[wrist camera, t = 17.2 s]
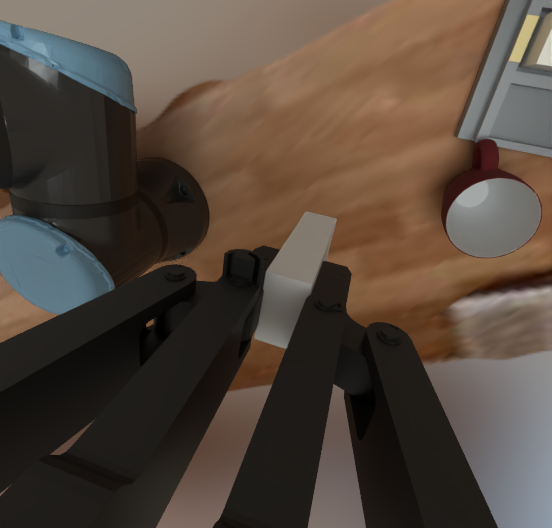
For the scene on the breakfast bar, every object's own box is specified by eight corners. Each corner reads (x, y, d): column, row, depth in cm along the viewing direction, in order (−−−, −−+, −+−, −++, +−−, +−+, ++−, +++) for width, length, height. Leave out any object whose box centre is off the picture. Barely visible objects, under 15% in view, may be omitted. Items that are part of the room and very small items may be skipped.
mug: (428, 143, 41) (439, 159, 33) (509, 125, 38) (544, 138, 30) (436, 228, 45) (447, 263, 37) (510, 218, 42) (541, 253, 34)
